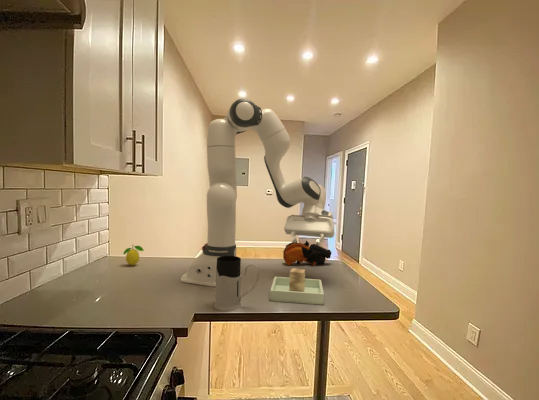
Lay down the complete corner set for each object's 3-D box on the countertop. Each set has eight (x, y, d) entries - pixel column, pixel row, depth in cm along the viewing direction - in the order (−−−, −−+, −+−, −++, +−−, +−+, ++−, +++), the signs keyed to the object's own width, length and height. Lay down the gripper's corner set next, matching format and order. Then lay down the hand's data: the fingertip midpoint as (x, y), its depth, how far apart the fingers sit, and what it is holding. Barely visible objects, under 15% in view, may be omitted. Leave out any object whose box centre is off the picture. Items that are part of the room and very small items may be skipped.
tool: (322, 280, 147) (334, 252, 147) (280, 263, 143) (293, 235, 143) (317, 275, 155) (329, 249, 155) (277, 259, 151) (289, 232, 151)
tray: (270, 300, 100) (270, 290, 100) (274, 285, 116) (274, 276, 115) (323, 304, 98) (323, 294, 98) (320, 288, 114) (320, 279, 114)
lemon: (143, 265, 138) (143, 243, 138) (133, 268, 133) (133, 245, 132) (132, 263, 141) (132, 242, 140) (122, 266, 135) (122, 244, 135)
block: (289, 293, 105) (289, 271, 105) (292, 289, 110) (293, 268, 109) (301, 295, 104) (302, 273, 104) (304, 291, 108) (305, 269, 108)
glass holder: (218, 298, 100) (219, 254, 100) (260, 302, 98) (261, 257, 98) (209, 309, 92) (210, 261, 91) (255, 313, 90) (257, 264, 89)
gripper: (286, 210, 128) (279, 236, 119) (335, 212, 121) (331, 240, 112) (289, 219, 132) (282, 245, 123) (336, 222, 125) (332, 250, 116)
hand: (305, 243), depth 118 cm, fingers open, 8 cm apart
